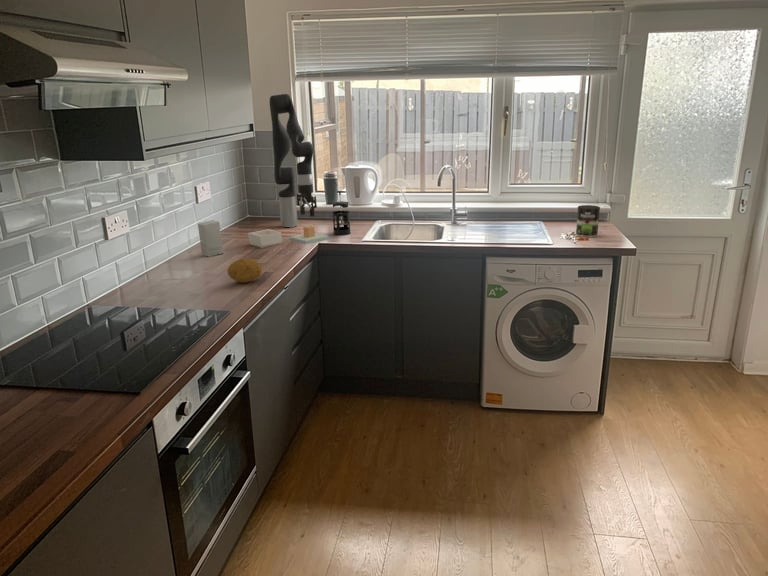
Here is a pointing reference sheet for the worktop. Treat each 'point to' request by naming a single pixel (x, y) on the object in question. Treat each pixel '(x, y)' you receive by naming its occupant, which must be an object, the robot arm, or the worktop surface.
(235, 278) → the potato
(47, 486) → the worktop surface
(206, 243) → the skincare box
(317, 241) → the mat
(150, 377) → the worktop surface
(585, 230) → the coffee can
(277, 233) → the dish
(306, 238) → the lid
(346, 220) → the french press
